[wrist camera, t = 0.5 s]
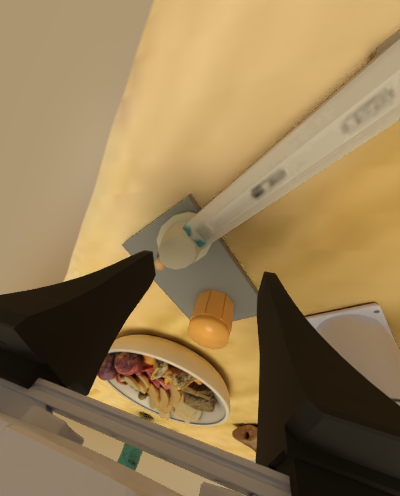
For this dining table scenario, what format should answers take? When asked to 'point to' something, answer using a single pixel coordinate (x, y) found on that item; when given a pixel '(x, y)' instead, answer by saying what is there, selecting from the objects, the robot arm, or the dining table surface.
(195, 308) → the orange cap
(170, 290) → the charcoal board
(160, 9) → the dining table surface
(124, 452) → the beverage bottle
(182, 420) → the bowl
